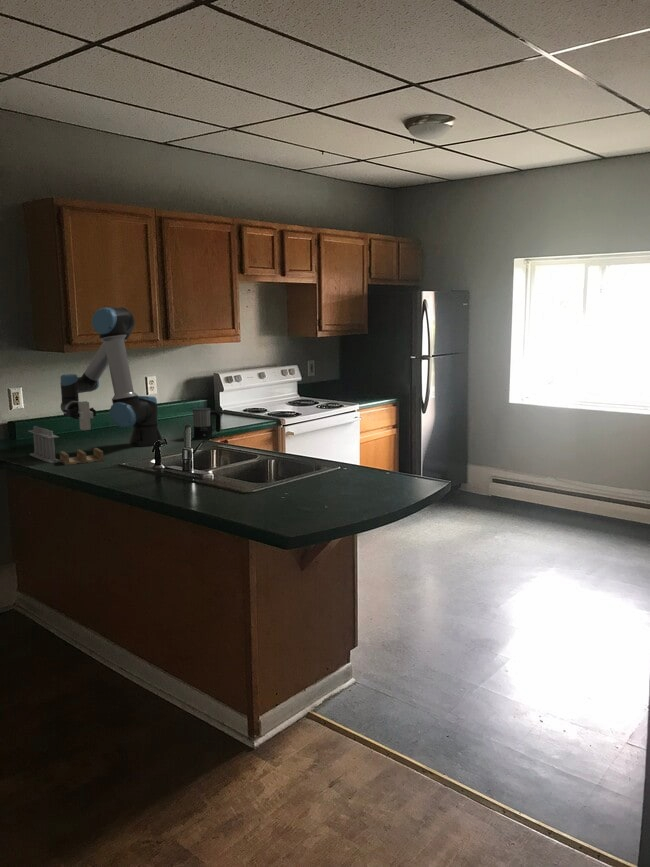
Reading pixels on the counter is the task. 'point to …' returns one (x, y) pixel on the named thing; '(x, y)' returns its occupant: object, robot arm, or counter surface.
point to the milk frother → (204, 422)
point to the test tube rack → (44, 445)
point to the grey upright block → (84, 415)
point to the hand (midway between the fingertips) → (87, 415)
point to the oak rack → (81, 457)
